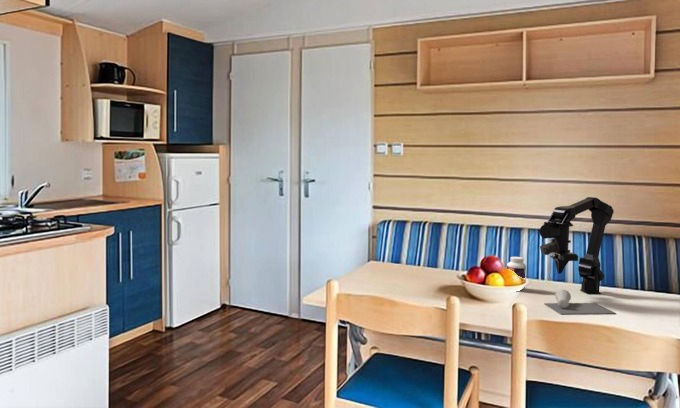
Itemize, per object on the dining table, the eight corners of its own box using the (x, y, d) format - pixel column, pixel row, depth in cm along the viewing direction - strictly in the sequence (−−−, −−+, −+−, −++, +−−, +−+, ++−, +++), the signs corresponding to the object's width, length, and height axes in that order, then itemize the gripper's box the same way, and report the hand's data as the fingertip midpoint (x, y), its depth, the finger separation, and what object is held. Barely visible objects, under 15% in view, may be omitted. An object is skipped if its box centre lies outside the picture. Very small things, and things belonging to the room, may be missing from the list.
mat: (595, 303, 224) (595, 302, 224) (615, 314, 210) (615, 313, 210) (544, 304, 222) (544, 303, 222) (560, 314, 208) (560, 313, 208)
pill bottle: (504, 290, 244) (505, 258, 243) (507, 286, 251) (509, 255, 250) (523, 292, 241) (524, 260, 239) (526, 288, 248) (527, 257, 246)
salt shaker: (557, 286, 226) (557, 294, 215) (572, 290, 225) (573, 299, 213) (554, 299, 228) (553, 308, 216) (568, 303, 226) (568, 313, 214)
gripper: (533, 233, 239) (531, 268, 241) (553, 240, 221) (551, 278, 222) (557, 233, 240) (555, 268, 242) (580, 240, 222) (577, 278, 223)
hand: (559, 273), depth 232 cm, fingers closed
